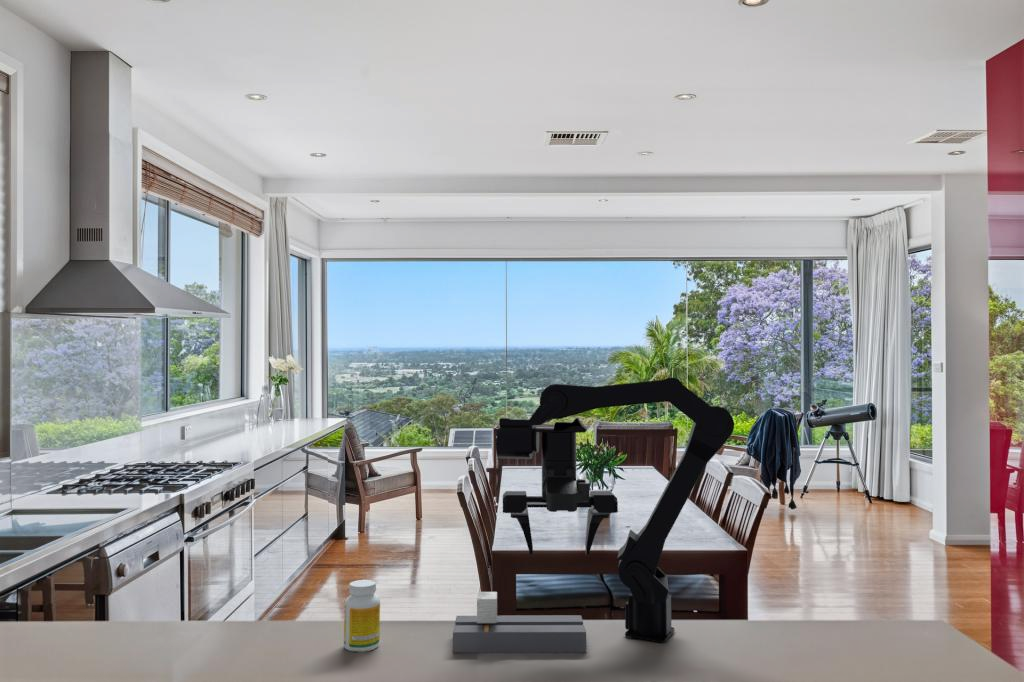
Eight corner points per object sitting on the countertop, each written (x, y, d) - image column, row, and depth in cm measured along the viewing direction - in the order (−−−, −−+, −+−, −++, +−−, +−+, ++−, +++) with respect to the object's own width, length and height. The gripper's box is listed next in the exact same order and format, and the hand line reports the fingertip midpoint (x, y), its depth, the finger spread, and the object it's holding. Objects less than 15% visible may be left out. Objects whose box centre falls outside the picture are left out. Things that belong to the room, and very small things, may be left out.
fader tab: (497, 627, 118) (497, 591, 118) (496, 635, 114) (496, 599, 114) (478, 627, 117) (478, 591, 118) (476, 635, 114) (477, 599, 114)
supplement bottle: (336, 646, 114) (337, 583, 115) (365, 637, 118) (366, 576, 118) (357, 655, 110) (358, 589, 111) (386, 646, 114) (387, 582, 115)
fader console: (581, 634, 119) (581, 614, 120) (586, 652, 111) (586, 631, 112) (456, 634, 119) (456, 614, 120) (452, 652, 111) (452, 631, 112)
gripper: (502, 464, 116) (502, 566, 115) (622, 464, 116) (623, 566, 115) (502, 457, 127) (502, 550, 126) (612, 457, 127) (613, 550, 126)
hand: (559, 554), depth 123 cm, fingers open, 9 cm apart
